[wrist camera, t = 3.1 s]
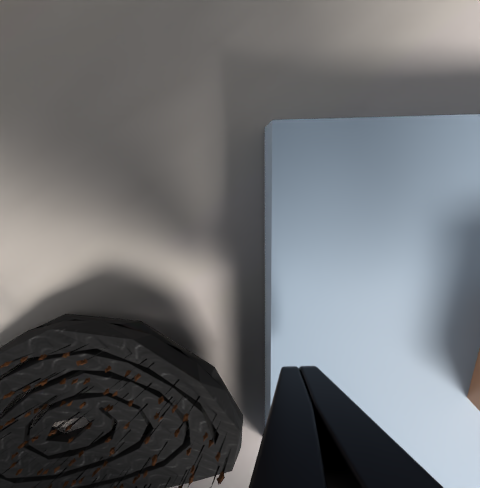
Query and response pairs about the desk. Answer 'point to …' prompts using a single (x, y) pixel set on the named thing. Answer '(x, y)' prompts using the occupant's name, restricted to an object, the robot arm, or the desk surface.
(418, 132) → the board
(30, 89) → the desk surface
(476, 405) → the tile
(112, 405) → the black spiral-grooved part
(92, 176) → the desk surface
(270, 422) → the robot arm
